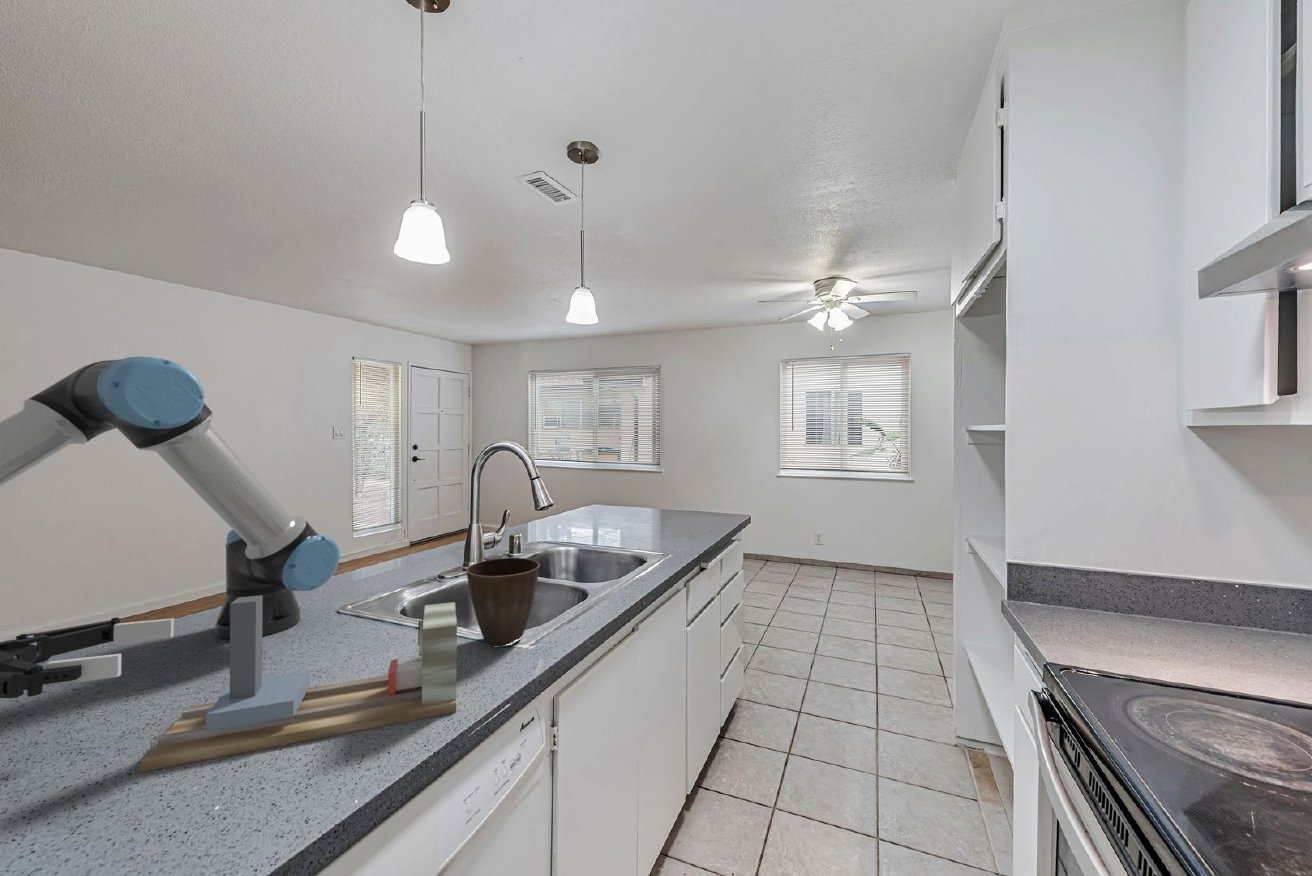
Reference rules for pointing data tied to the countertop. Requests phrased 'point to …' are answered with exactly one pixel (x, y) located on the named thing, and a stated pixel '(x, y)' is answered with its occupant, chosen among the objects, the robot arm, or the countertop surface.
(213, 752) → the rail track
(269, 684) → the carriage
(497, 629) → the plant pot
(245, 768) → the countertop surface
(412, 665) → the button
